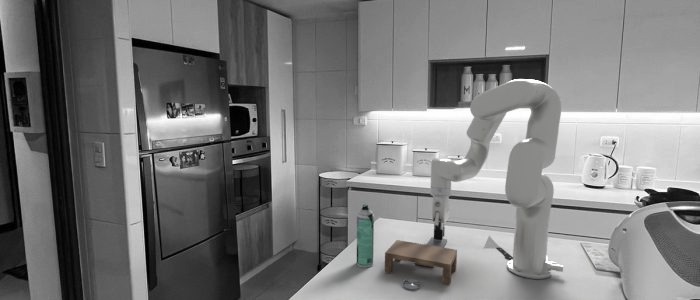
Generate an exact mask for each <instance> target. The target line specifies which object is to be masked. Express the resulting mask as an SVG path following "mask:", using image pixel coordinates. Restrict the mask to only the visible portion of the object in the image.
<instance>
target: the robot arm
mask: <svg viewBox="0 0 700 300" xmlns="http://www.w3.org/2000/svg"><path fill="white" fill-rule="evenodd" d="M469 108H470V110H469V111H470V113H471V115H472V116H473V119H472V120H471V122H470V125H469V126H468V128H467V130H466V135H467V137H468V138H469V139H470V146H469V149H468V150H467V152H466V155H465V156H464V158H462V159H457V160H452V159H450V158H446V157H435V158H432V159H431V164H430V165H431V167H430V189H429V190H430V191H429V192H430V195H431V196H432V200H431V201H432V204H431V206H432V207H431V221H432V222H434V223H433V228H434V229H433V237H434V239H437V240H442V238H443V239H444V237H445V226H444V228H443V230H442V222H443V223H444V225H445V223H446V222H447V221H448V219H449V216H450V198H449V197H451V195H452V182H453V183H458V182H459V183H460V182H463V181H466V180H469V179H473V178H474V177H476V176H477V175H478V174H479V172H481V169H482V168H483V166H484V164H485V162H486V160H487V158H488V156H489V151H490V146H491V145H490V144H491V141H492V139H493V138H494V136H495V133H496V132H497V130H498V129H499V127H500V126H501V123H502V122H503V119H505V117H506V115H507V113H509V112H512V111H515V110H519V109H530V115H529V118H528V121H527V125H526V127H527V128H526V132H525V133H526V134H525V139H524V140H520V141H519V142H517V143H516V144H515V145H514V146H513V147H512V149H511V151H510V152H509V157H508V164H507V169H506V178H505V187H504V189H505V190H504V192H505V196H506V199H507V201H508V203H510V204H511V205H512V206H513V207H515V209H516V211H515V217H514V218H515V219H514V235H513V236H514V237H513V249H512V251H513V252H512V257H513V260H508V261H507V263H506V264H507V265H506V267H507V269H508V271H510V272H512V273H513V274H514V275H517V276H519V277H522V278H527V279H533V280H534V279H535V280H542V279H547V278H549V277H551V275H552V271H556V272H561V273H563V272H564V265H561V264H559V263H558V262H557V261H556V262H555V261H550V260H548V255H547V254H548V240H549V227H550V215H551V209H552V204H553V198H554V191H555V190H554V184H553V181H552V180H551V179H550V177H549V176H548V175H546V174H545V173H543V169H546V168H548V167H550V166H552V164H553V163H554V161H555V158H556V151H557V145H558V137H559V130H560V129H559V127H560V122H561V116H562V102H561V98H560V96H559V93H558V92H557V91H556V90H555V89H554V88H553V87H552V86H551V85H549V84H547V83H545V82H542V81H540V80H535V79H524V78H518V79H513V80H510V81H507V82H505V83H502V84H500V85H497V86H495V87H492V88H490V89H488V90H485V91H483V92H481V93H478V94H477V95H476V96H474V98H473V99H472V101H470V107H469ZM439 223H440V224H439Z"/></svg>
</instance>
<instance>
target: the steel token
mask: <svg viewBox="0 0 700 300" xmlns="http://www.w3.org/2000/svg"><path fill="white" fill-rule="evenodd" d="M402 288H404V289H405V290H408V291H417V290H419V289H420V288H421V282H420V281H418V280H416V279H411V278H410V279H407V278H406V279H404V280H403V281H402Z"/></svg>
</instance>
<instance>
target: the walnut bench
mask: <svg viewBox="0 0 700 300" xmlns="http://www.w3.org/2000/svg"><path fill="white" fill-rule="evenodd" d="M457 256H458V249H454V248H448V247H444V248H443V247H437V246H431V245H427V244H423V243H417V242H412V241H406V240H399V239H397V240H395V242H393V243H392V244H391V246H390V247H389V248H388V249H387V250H386V251H385V252H384V273H386V274H389V275H390V274H392V273H393V271H394V261H396V262H402V261H403V262H409V263H414V264H415V263H419V264H424V265H429V266H434V267H435V268H441V269H442V285H444V286H450V285H451V281H452V272H456V271H457V262H458V261H457V259H458V257H457ZM429 266H428V267H429Z"/></svg>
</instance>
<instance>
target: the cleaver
mask: <svg viewBox="0 0 700 300" xmlns="http://www.w3.org/2000/svg"><path fill="white" fill-rule="evenodd" d="M483 249H496V250H497V251H499V252H500V253H501V254H502V256H504V259H505V260H507V261H510V260H513V255H511V254H510V253H509V252H507V251H506V250H504V248H502V247H501V246H500V245H498V243H497V242H496V241H494V239H493V238H492V237H491V235H490V234H489V235H488V237H487V240H486V241H485V243H484V246H483Z"/></svg>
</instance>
